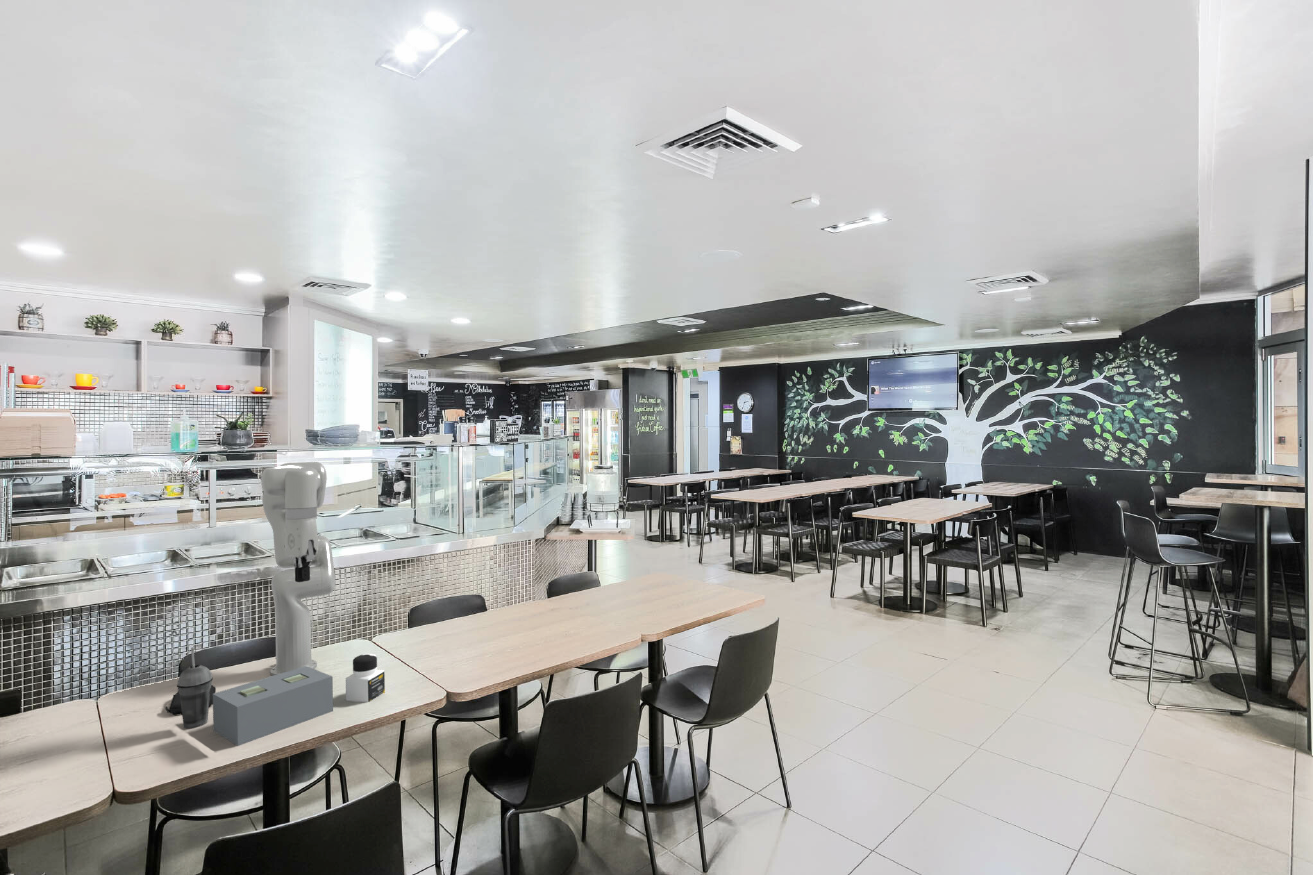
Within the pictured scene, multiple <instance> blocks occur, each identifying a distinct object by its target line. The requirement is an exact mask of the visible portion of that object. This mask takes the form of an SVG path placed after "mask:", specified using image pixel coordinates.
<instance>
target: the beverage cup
mask: <svg viewBox="0 0 1313 875" xmlns="http://www.w3.org/2000/svg"><path fill="white" fill-rule="evenodd" d="M194 650H195V649H194V646H193V647H191V648H190V651H191V666H189V667H186V668H185V669H184V670H183V671H182V672H181V673H180V675H179V677H178V678H177V679H178V680H177V684H176V688H177V692H179V694H180V701H181V709H182V714H181V715H182V723H183V728H184V729H187V730H188V729H196V728H200V727H202V726H204V725H206V724H207V723H208V720H209V710H210V708H209V699H210V688H211V685H213V680H214V679H213V674H212V672H211V670H210V669H209V668H208V667H207V666H205V665H202V664H195V651H194Z"/></svg>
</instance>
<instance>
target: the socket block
mask: <svg viewBox="0 0 1313 875" xmlns="http://www.w3.org/2000/svg"><path fill="white" fill-rule="evenodd" d="M299 674H300V675H302V676H305V677H307V678H306V679H303V680H299V681H296V682H293V683H287V682H285V681H283V679H286V678H289V677H292V676H296V675H299ZM333 680H334V679H333V676H332V675H330V674H328V673H325V672H323V671H320V670H317V669H316V668H315V669H312V668H310V667H307V666H304V667H301V668H298V669H294V670H291V671H287V672H284V673H281V674H277V675H274V676H272V675H271V676H268V677H264V678H261V679H258V680H254V681H250V682H247V683H245V684H244V683H243V684H242V685H241V684H240V685H237V686H234V687H231V688H227V689H224V690H221V691H217V692H215V693H214V694H213V705H212V718H213V719H212V724H213V726H212V727H213V728H212V730H213V732H215V733H216V734H218V735H219V736H221V737H223V738H224V739H226V740H228V741H229V742H230V743H232V744H233V745H236V746H237V747H240V746H242V745H245V744H247V743H251V742H253V741H256V740H258V739H261V738H263V737H267V736H269V735H271V734H275V733H278V732H280V731H282V730H286V729H288V728H291V727H293V726H297V725H299V724H302V723H304V722H307V721H311V720H313V719H315V718H318V717H321V716H323V715H326V714H328V713H331V712H334V694H333V693H334V690H333V689H334V688H333V687H334V686H333V684H334V683H333V682H334V681H333ZM255 686H260V687H262V688H264V689H265V691H264V692H261V693H258V694H255V695H252V696H248V697H244V696H242V695H240V691H242V690H245V689H248V688H252V687H255Z"/></svg>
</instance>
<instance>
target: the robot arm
mask: <svg viewBox="0 0 1313 875" xmlns="http://www.w3.org/2000/svg"><path fill="white" fill-rule="evenodd" d="M327 480H328V478H327V471H326V467H325V466H324V465H323V464H322V463H321V462H318V461H305V462H304V461H302V462H301V461H300V462H287V463H283V464H280V465H278V466H271V467H266V468H264V470H263V472H262V474H261V479H260V484H261V485H260V486H261V489H262V491H263V494H262V499H261V500H262V501H261V502H262V507H263V512H264V515H265V516H266V519H267V521H268V522H269V525H270V527H271V528H272V529H271V530H272V534H273V548H274V559H275V562H276V563H275V564H276V565H277V566H278V567H279V568H280V569H283V570H280V571H278V572H276V573H274V575H273V576H272V579H271V582H270V583H271V584H270V586H271V592H272V597H273V603H274V618H275V662H276V663H275V664H276V665H274V666H273V667H272V668H271V669H270V675H271V676H274V675H277V674H281V673H284V672H287V671H291V670H294V669H298V668H301V667H304V666H307V667H310V668H312V669H315V670H316V668H317V667H318V662H317V661H316V660H315V659H312V632H311V631H312V630H311V629H312V624H311V620H312V619H311V611H310V608H309V607H308V606H307V605H306V604H305V603H304V602H303V601H301V600H303V599H308V598H315V597H321V596H326V595H327V596H328V595H329V594H332V593H333V592H334V590H335V588H336V587H335V586H336V574H335V569H334V568H335V567H334V566H335V565H334V560H333V559H334V557H333V550H332V545H331V542H330V540H329V538H327V537H325V536H324V535H318V528H317V520H316V519H318V509H319V508H321V507H323V504H324V501H325V495H326V494H325V493H326V486H327Z"/></svg>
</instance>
